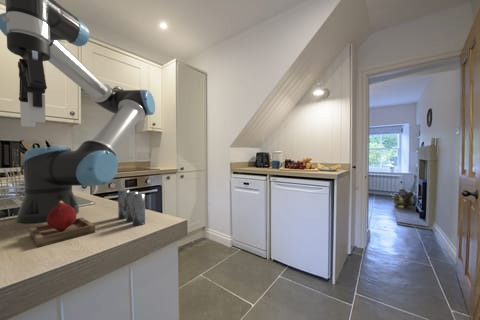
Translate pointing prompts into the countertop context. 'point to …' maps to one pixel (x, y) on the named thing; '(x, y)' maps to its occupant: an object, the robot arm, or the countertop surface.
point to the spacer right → (138, 209)
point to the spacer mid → (130, 205)
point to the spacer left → (122, 204)
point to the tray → (60, 232)
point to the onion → (61, 216)
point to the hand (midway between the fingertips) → (32, 124)
